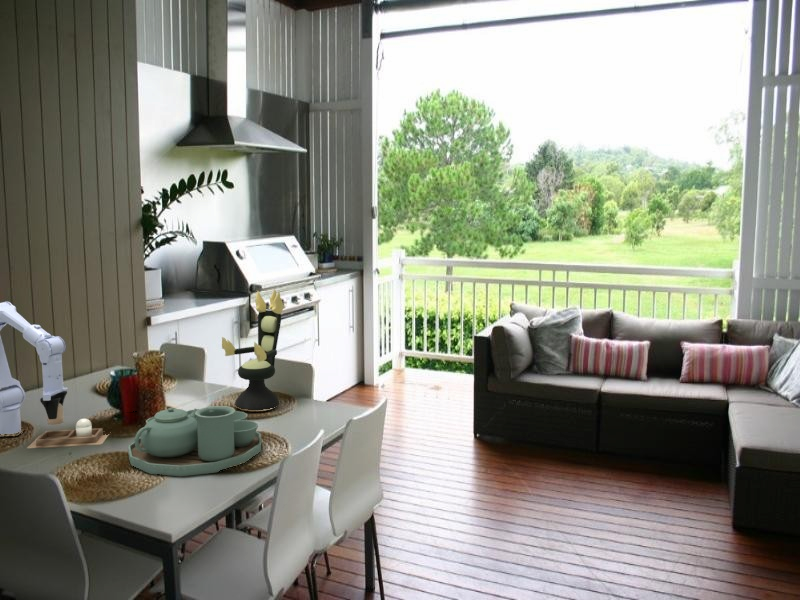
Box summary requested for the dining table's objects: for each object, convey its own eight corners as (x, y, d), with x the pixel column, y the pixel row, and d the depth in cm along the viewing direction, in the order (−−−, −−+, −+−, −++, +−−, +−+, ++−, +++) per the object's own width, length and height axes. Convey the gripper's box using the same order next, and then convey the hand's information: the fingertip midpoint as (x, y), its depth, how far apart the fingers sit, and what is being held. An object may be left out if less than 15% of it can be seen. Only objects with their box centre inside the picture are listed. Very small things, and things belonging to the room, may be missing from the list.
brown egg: (45, 424, 210) (44, 404, 209) (50, 420, 214) (48, 400, 214) (61, 424, 211) (60, 403, 210) (65, 419, 215) (64, 399, 215)
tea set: (283, 439, 219) (282, 390, 217) (217, 485, 181) (216, 427, 179) (179, 427, 230) (177, 381, 228) (97, 469, 192) (94, 414, 190)
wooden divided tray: (26, 450, 206) (26, 442, 206) (40, 436, 218) (39, 429, 218) (101, 446, 210) (101, 438, 210) (111, 433, 223) (110, 426, 222)
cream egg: (74, 441, 212) (73, 421, 212) (78, 436, 217) (77, 417, 216) (90, 440, 213) (89, 420, 212) (93, 436, 218) (92, 416, 217)
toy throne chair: (221, 408, 252) (218, 291, 246) (262, 395, 271) (260, 286, 265) (257, 417, 242) (255, 295, 236) (297, 403, 261) (296, 289, 255)
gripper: (59, 380, 204) (61, 422, 206) (72, 369, 219) (74, 409, 220) (34, 381, 203) (37, 423, 205) (49, 370, 217) (51, 410, 219)
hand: (55, 416), depth 212 cm, fingers closed on brown egg, 5 cm apart
